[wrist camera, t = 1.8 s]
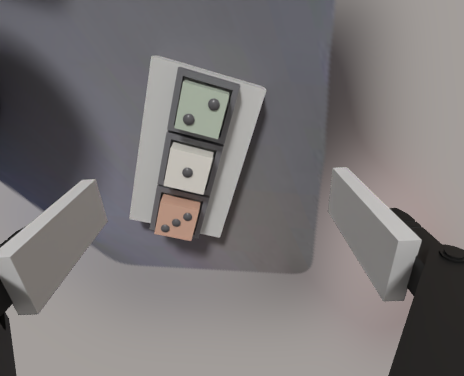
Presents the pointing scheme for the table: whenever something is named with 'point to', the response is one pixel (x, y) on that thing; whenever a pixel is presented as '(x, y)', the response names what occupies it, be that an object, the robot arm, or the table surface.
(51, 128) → the table surface
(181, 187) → the one dot tile
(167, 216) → the three dot tile
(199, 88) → the two dot tile
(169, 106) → the tile tray
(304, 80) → the table surface
